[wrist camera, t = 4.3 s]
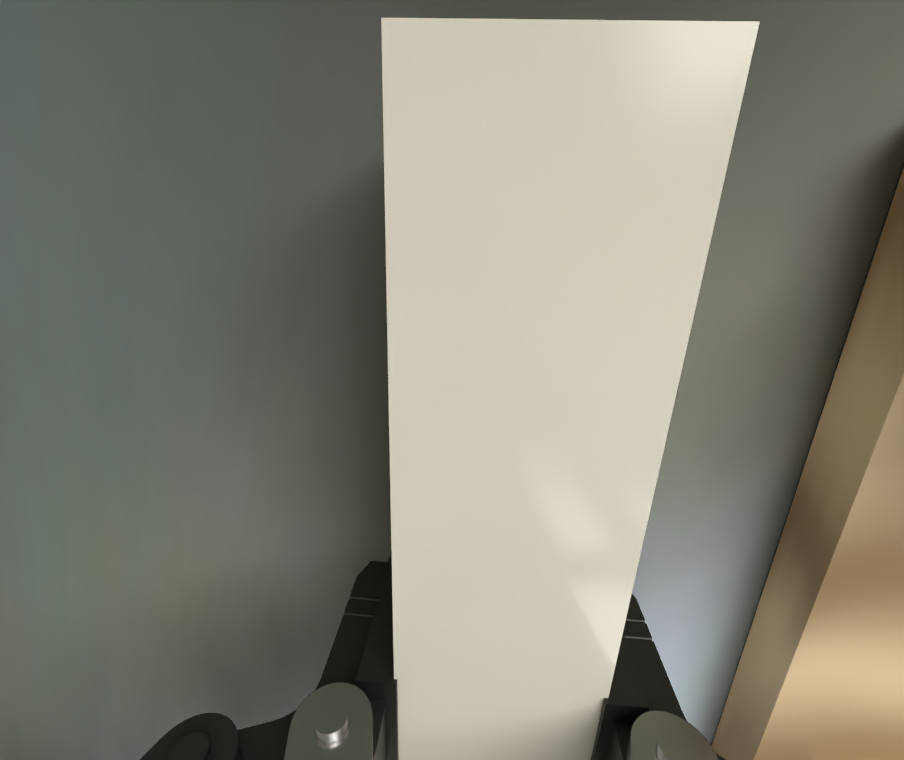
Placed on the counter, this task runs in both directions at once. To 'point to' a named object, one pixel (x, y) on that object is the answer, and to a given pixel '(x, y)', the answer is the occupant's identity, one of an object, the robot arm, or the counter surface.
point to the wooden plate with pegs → (838, 561)
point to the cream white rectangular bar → (536, 350)
